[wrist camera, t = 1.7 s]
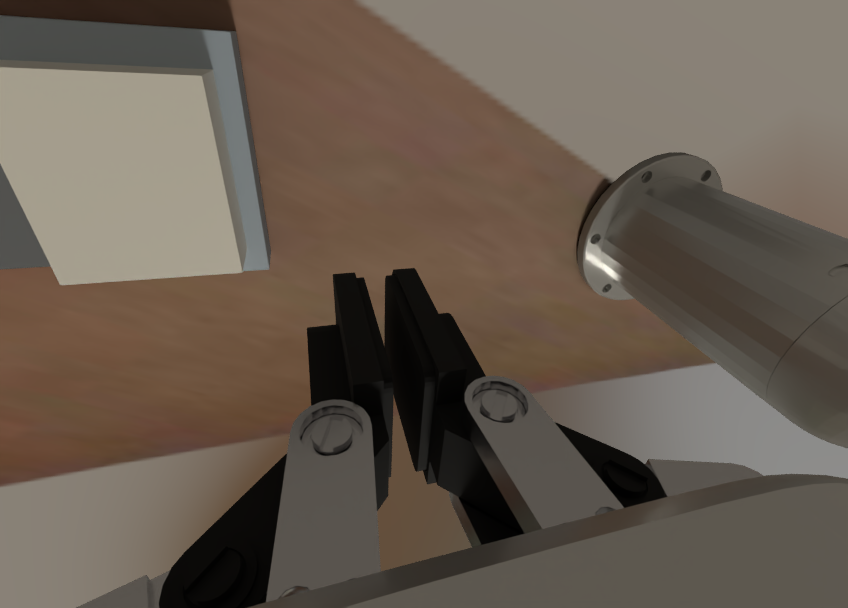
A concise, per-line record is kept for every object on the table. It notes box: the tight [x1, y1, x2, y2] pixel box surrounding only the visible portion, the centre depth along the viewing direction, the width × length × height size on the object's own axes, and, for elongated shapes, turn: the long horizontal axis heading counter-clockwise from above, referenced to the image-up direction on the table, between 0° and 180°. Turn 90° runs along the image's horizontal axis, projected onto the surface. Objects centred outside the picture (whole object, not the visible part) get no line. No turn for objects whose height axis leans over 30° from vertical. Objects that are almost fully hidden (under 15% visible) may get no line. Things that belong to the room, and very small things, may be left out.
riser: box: [0, 15, 271, 271], centre depth 21 cm, size 10×12×2 cm
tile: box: [0, 60, 247, 285], centre depth 19 cm, size 8×9×3 cm
